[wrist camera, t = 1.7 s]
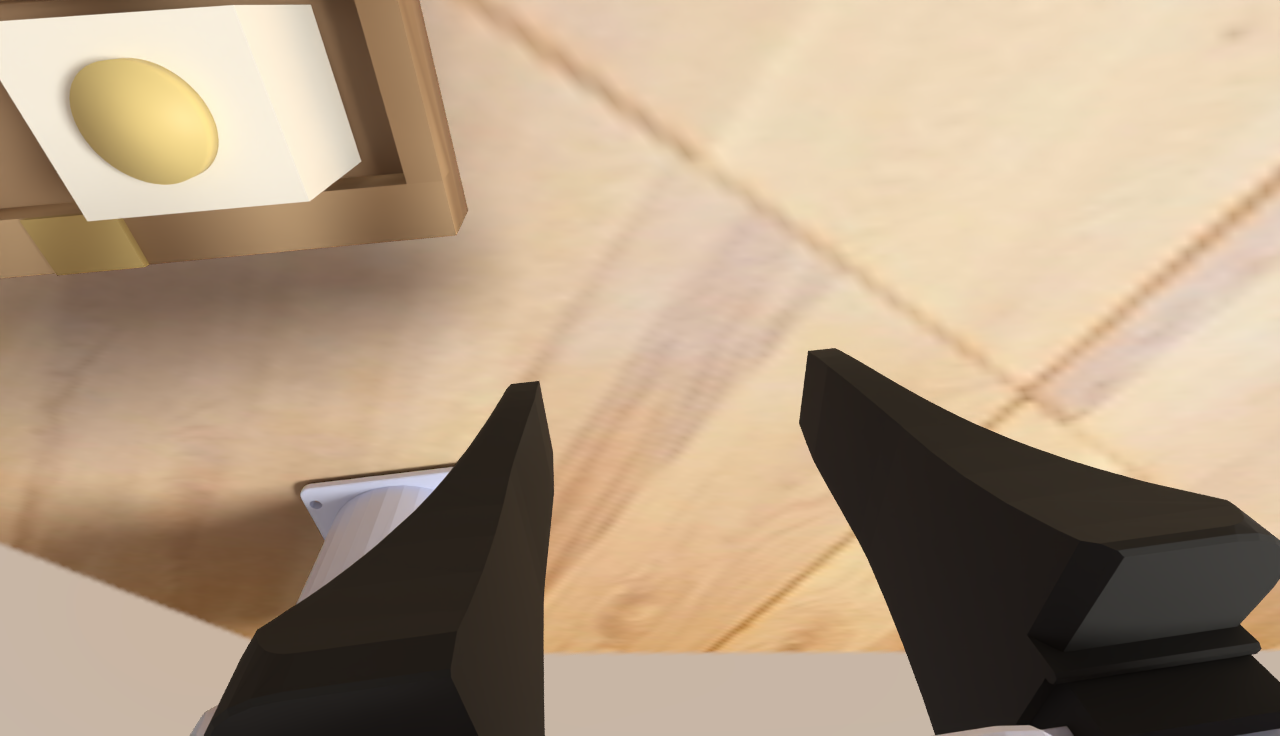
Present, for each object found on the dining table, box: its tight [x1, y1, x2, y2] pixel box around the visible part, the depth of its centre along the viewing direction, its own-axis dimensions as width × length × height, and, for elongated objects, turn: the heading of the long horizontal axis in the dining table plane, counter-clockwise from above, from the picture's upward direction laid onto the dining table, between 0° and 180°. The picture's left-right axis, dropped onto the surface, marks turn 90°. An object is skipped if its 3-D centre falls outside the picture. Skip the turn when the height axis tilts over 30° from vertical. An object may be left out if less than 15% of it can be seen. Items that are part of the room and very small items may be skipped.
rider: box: [0, 5, 361, 221], centre depth 13 cm, size 5×4×4 cm
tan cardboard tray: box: [0, 0, 468, 279], centre depth 16 cm, size 15×8×4 cm, turn 93°
